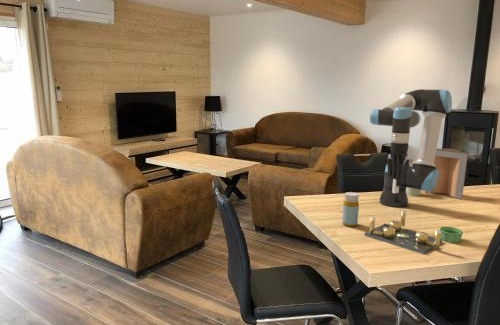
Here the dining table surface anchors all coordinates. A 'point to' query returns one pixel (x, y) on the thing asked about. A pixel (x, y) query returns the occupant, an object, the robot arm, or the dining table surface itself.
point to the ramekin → (451, 234)
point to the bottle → (350, 209)
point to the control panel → (403, 239)
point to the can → (413, 192)
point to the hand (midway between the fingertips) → (395, 192)
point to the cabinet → (450, 173)
